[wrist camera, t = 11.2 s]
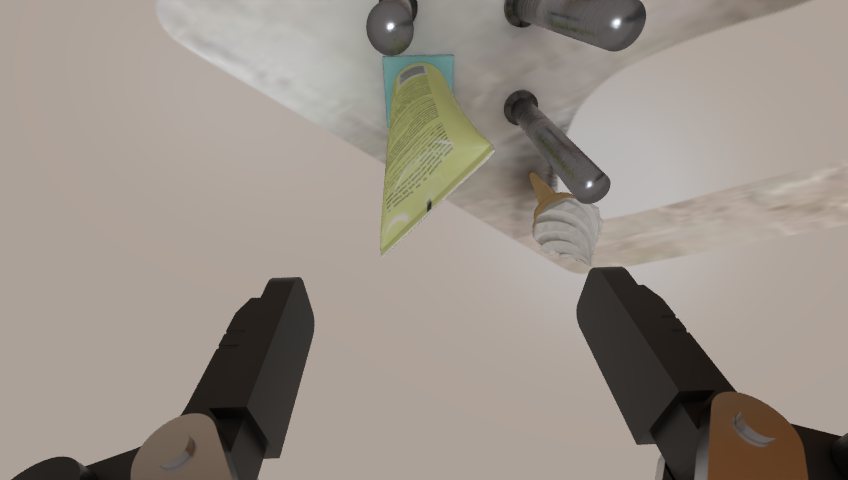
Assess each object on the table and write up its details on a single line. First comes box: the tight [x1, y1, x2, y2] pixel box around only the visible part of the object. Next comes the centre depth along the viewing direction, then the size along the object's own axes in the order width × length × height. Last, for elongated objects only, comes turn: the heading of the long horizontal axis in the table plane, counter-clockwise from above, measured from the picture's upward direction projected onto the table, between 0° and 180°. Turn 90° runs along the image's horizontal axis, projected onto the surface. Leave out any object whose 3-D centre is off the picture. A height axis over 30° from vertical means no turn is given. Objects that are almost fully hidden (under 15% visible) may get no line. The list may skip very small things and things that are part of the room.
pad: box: [383, 55, 454, 128], centre depth 31 cm, size 6×6×1 cm
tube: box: [380, 62, 495, 258], centre depth 23 cm, size 6×5×20 cm
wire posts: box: [366, 0, 646, 204], centre depth 24 cm, size 14×11×16 cm
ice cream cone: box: [529, 172, 603, 266], centre depth 31 cm, size 6×6×15 cm
